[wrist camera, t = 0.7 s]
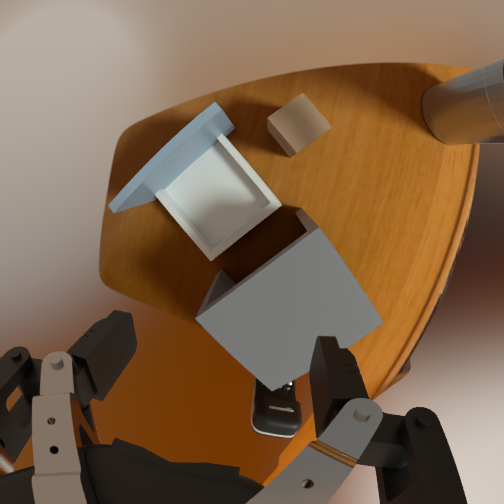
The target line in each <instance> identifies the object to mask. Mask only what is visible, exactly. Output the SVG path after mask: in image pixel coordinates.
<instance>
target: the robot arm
mask: <svg viewBox="0 0 504 504" xmlns="http://www.w3.org/2000/svg"><path fill="white" fill-rule="evenodd" d="M422 110H423V115H424V118H425V121H426V124H427V125H428V127H429V129H430V131H431V132H432V133H433V135H434V136H435V137H436V138H437V139H439V140H440V141H441V142H443V143H445V144H449V145H458V144H483V143H504V60H501V61H498V62H495V63H492V64H490V65H487V66H484V67H481V68H478V69H476V70H473V71H470V72H468V73H465V74H462V75H460V76H457V77H455V78H452V79H450V80H447V81H445V82H442V83H440V84H438V85H435V86H433V87H431V88H429V89H428V90H427V91H426V92H425V94H424V96H423V100H422ZM136 347H137V340H136V335H135V329H134V323H133V318H132V315H131V313H128V312H122V311H118V310H114V311H113V312H112V313H111V314H110V315H109V316H108V317H107V318H106V319H102V320H100V321H98V322H96V323H95V324H94V325H93V326H92V327H91V328H90V329H89V331H87V332H86V333H85V334H84V336H82V337H81V338H80V339H79V340H78V341H77V342H76V343H75V344H74V345H73V346H72V347H71V348H70V349H69V350H68V351H67V352H66V353H65V352H60V351H59V352H53V353H51V354H49V355H47V356H46V357H45V358H44V359H43V360H40V359H33V358H31V356H30V353H29V351H28V349H27V348H24V347H14V348H12V349H10V350H9V351H8V352H6V353H5V354H4V356H2V358H0V504H327V503H328V501H329V500H330V499H331V497H332V496H333V495H334V494H335V493H336V491H337V490H338V489H339V487H340V486H341V485H342V483H343V482H344V481H345V479H346V478H347V477H348V475H349V473H350V472H351V471H352V469H353V468H354V466H355V465H356V464H360V465H367V466H374V467H375V469H376V476H377V483H378V491H379V499H380V504H467V500H466V497H465V493H464V490H463V486H462V483H461V479H460V476H459V473H458V470H457V467H456V464H455V461H454V458H453V455H452V453H451V450H450V447H449V444H448V442H447V439H446V436H445V434H444V431H443V429H442V426H441V424H440V421H439V419H438V417H437V415H436V414H435V413H434V412H433V411H431V410H430V409H427V408H424V407H416V408H412V409H411V410H409V411H408V412H407V414H406V415H405V416H400V415H393V414H387V413H384V412H382V409H381V407H380V406H379V405H378V404H377V403H375V402H374V401H372V400H369V397H368V394H367V391H366V388H365V385H364V382H363V379H362V376H361V374H360V370H359V368H358V366H357V362H356V359H355V356H354V355H353V354H352V353H351V352H350V351H349V350H348V349H347V348H340V347H339V344H338V341H337V338H336V336H317V339H316V343H315V347H314V351H313V355H312V360H311V364H310V371H309V376H310V377H309V378H310V385H311V394H312V402H313V412H314V421H315V430H316V438H318V439H317V440H316V441H315V442H314V441H312V442H310V443H309V444H308V445H307V446H306V447H305V448H304V449H303V451H302V452H301V453H300V454H299V455H298V456H297V457H296V458H295V459H294V460H293V461H292V462H291V463H290V464H289V465H288V466H287V467H286V468H285V469H284V470H283V471H282V472H281V473H280V474H279V475H278V476H277V477H276V478H274V479H273V480H272V481H271V482H270V483H269V484H268V485H267V486H266V487H264V486H263V485H261V484H260V483H257V482H256V481H254V480H252V479H250V478H247V477H245V476H242V475H239V472H240V467H233V466H225V465H218V464H212V463H176V462H169V461H167V460H165V459H163V458H161V457H159V456H158V455H156V454H154V453H152V452H150V451H148V450H146V449H145V448H143V447H140V446H137V445H134V444H131V443H128V442H125V441H122V440H120V439H117V438H115V439H114V441H113V443H112V445H108V444H101V443H100V441H99V437H98V434H97V429H96V425H95V420H94V415H93V410H92V406H91V403H90V401H91V399H92V398H94V399H97V400H100V401H103V400H104V398H105V397H106V395H107V394H108V392H109V391H110V389H111V388H112V386H113V385H114V383H115V382H116V380H117V379H118V377H119V376H120V374H121V373H122V371H123V370H124V368H125V367H126V366H127V364H128V363H129V361H130V360H131V358H132V356H133V355H134V354H135V351H136ZM16 387H18V388H19V390H20V392H21V394H22V396H21V397H20V398H19V399H18V401H17V402H16V403H15V405H14V406H13V407H12V409H11V410H10V411H8V410H7V408H6V400H7V398H8V397H9V396H10V394H11V393H12V392H13V391H14V390H15V388H16ZM31 435H32V440H33V455H34V465H35V466H31V467H28V468H25V469H21V470H18V471H15V470H14V463H15V461H16V459H17V458H18V456H19V454H20V452H21V451H22V449H23V448H24V446H25V444H26V443H27V441H28V439H29V438H30V436H31Z"/></svg>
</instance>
